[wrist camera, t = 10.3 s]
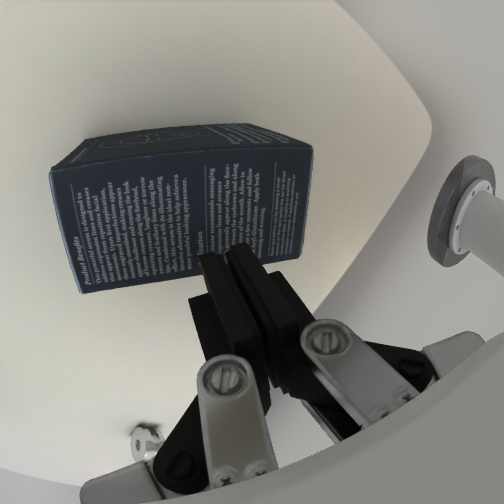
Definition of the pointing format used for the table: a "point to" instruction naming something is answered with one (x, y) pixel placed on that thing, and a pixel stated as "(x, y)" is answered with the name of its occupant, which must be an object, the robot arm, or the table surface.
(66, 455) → the table surface
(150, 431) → the grooved metal pulley
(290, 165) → the box
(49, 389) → the table surface
